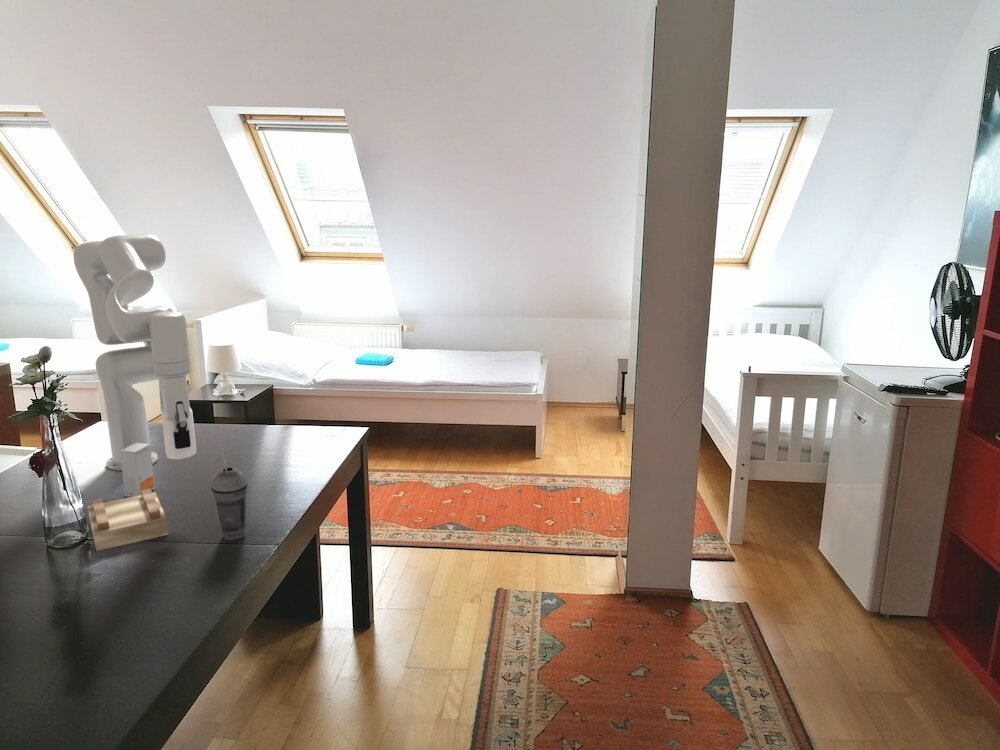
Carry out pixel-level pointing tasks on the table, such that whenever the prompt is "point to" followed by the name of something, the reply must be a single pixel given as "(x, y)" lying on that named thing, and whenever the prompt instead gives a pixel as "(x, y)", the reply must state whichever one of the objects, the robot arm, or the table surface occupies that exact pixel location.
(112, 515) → the plinth
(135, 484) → the skincare box
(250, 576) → the table surface
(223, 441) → the table surface
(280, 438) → the table surface
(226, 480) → the beverage cup
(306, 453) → the table surface
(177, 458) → the can
